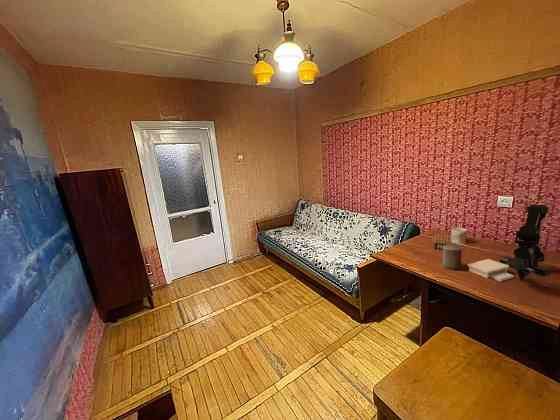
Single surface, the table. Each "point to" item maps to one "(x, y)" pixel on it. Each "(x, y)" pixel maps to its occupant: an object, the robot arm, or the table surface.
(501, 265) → the cream rectangular slab
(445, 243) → the ammunition clip
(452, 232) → the mug
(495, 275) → the pale wall plate
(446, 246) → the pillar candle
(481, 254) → the table surface
